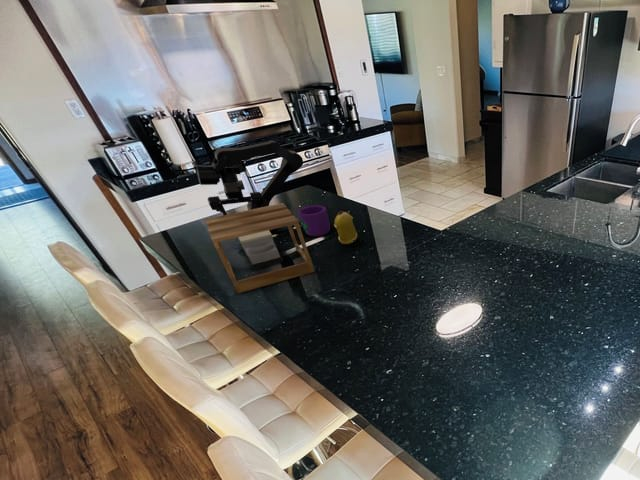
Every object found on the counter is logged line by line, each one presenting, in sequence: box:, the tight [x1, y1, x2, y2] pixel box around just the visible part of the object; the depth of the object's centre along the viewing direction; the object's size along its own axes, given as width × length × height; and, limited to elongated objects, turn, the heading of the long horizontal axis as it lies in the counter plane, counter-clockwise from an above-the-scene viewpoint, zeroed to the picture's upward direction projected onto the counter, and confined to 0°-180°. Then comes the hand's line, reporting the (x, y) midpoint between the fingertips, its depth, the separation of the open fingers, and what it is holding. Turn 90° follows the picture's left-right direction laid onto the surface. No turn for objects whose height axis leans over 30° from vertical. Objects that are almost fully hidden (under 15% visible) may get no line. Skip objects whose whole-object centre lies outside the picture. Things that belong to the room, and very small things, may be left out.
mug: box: [297, 204, 331, 237], centre depth 173 cm, size 17×11×10 cm, turn 44°
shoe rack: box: [204, 202, 316, 294], centre depth 143 cm, size 22×26×19 cm
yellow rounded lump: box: [333, 210, 359, 245], centre depth 161 cm, size 12×8×15 cm
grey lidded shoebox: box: [238, 230, 284, 271], centre depth 155 cm, size 11×16×8 cm
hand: (243, 221), depth 158 cm, fingers open, 9 cm apart
